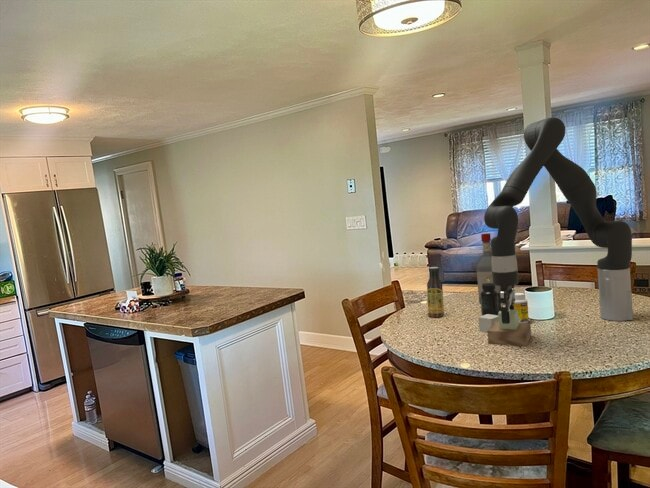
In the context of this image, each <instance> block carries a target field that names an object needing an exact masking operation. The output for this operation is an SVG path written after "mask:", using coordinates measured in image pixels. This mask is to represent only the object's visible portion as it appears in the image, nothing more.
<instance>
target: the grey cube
mask: <svg viewBox="0 0 650 488" xmlns="http://www.w3.org/2000/svg"><path fill="white" fill-rule="evenodd" d="M477 319H478V328H479V329H478V330H479V332H483V333H487V331H488V329H489V328H490V327H491V326H492V324H493V323H494V322H499V318H498V315H491V314H486V315H480V316H478V318H477Z"/></svg>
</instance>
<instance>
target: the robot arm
mask: <svg viewBox="0 0 650 488" xmlns="http://www.w3.org/2000/svg"><path fill="white" fill-rule="evenodd" d="M565 135H566V125H565V123H564V121H562V119H560V118H558V117H554V116H553V117H547V118H543V119H541V120H538V121H534V122H533V123H530V124H528V125H527V126H526V127H525V129H524V131H523V139H524V142H525V144H526V147H527V148H528V149H529V150H530V152H529V153H528V154H527V155H526V157H525V158H524V159H523V160H522V161H521V162H520V163H519V164H518V166H517V167H516V168H515V169H513V171H512V172H511V174H510V175H509V177H508V178H507V180H506V182H505V184H504V186H503V188H502V189H501V191H500V192H499V194H498V195H497V196H495V198H494V199H493V201H491V202H490V204H489V205H488V207H487V208H486V210H485V212H484V217H483V219H484V220H483V221H484V223H485V225H486V226H487V227H488V228H489V229H494V230H495V229H497V234H496V236H495V237H492V238H491V241H490V246H491V254H492V261H491V265H492V277H493V284H494V285H496V286H500V291H499V292H498V304H499V311H500V312H501V316H502V323H503V324H509V323H510V317H509V310H514V304H515V293H516V292H515V286H516V285H518V284H519V272H518V271H519V270H518V269H519V268H518V261H517V256H516V245H515V244H516V243H515V241H516V238H517V237H516V236H517V230H518V225H519V216H518V215H519V214H518V213H517V211H516V209H515V208H514V207H516V206H518V205H520V204H522V203H523V201H524V200H525V198H526V196H527V194H528V191H529V190H530V188H531V186H532V184H533V182H534V181H535V179H536V177H537V176H538V174H539V173H540V171H541V169H542V168H543V167H544V169H546V171H547V173H549V175H550V177H551V178H552V180H553V181H554V182H555V184H556V185H557V187H558V189H559V190H560V192H561V193H562V195H563V196H564V198H565V199H566V200H567V202H568V203H569V204H570V206H571V208H572V209H573V211H574V212H575V214H576V216H577V217H578V219H579V220H580V222H581V224H582V227H583V228H584V230H585V233H586V234H587V236H588V238H589V240H590V241H591V243H592V244H594V246H596V247H599V248H601V249H607V255H606V256H605V257H602V258H600V259H598V260H597V263H596V264H597V265H596V266H597V279H598V280H597V281H598V297H599V309H600V310H599V313H600V318H601V319H603V320H607V321H612V322H613V321H614V322H615V321H616V322H620V321H621V322H622V321H625V322H626V321H633V320H634V312H633V310H634V308H633V296H632V295H633V294H632V284H631V283H632V282H631V265H630V264H631V261H632V256H633V235H632V230H631V228H630V226H629V224H628V223H627V222H625V221H622V220H606V219H605V218H604V216H602V214H601V212H600V211H599V209H598V207H597V187H596V185H595V183H594V182H593V180H592V178H591V177H590V176H589V174H588V172H587V171H586V170H585V169H584V168H583V167H581V166H580V165H579V164H577V163H576V162H574V161H573V160H571V159H570V158H568V157H566V156H564V154H562V153H561V152H560V151H559V149H558V147H559V146H560V145H561V144H562V142H563V140H564V138H565Z"/></svg>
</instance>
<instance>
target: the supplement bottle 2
mask: <svg viewBox="0 0 650 488" xmlns="http://www.w3.org/2000/svg"><path fill="white" fill-rule="evenodd" d="M528 305H529V304H528V299H526V295H525V293H523V292H515V304H514V310H518V319H519V323H529V319H530V318H529V306H528Z"/></svg>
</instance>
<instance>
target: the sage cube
mask: <svg viewBox="0 0 650 488" xmlns="http://www.w3.org/2000/svg"><path fill="white" fill-rule="evenodd" d="M509 317H510V323H509V324H503V323H502V316H501V312H499V313H498V318H499V329H517V328H518V326H519V319H518V310H509Z"/></svg>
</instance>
